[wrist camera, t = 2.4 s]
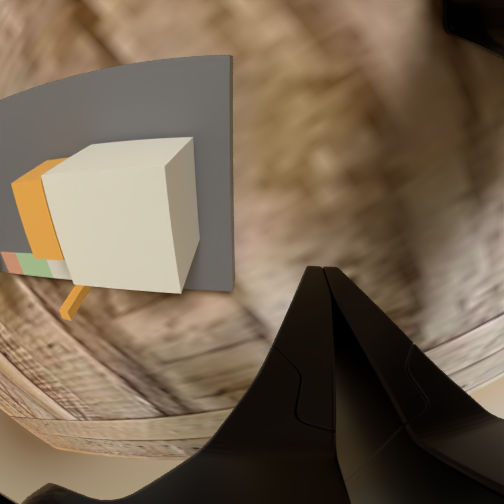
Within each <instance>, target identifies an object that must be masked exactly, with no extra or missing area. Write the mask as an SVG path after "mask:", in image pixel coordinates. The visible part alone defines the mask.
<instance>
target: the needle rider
mask: <svg viewBox="0 0 504 504" xmlns="http://www.w3.org/2000/svg"><path fill="white" fill-rule="evenodd" d="M68 158H69V157H67V158H60V159H53V160H47V161H45V162H43V163H42V164H40V165H39V166H37V167H35V168H34V169H32V170H31V171H29V172H27V173H26V174H24V175H23V176H21V177H20V178H18V179H17V180H15V181H14V182H12V183H11V185H12V189H13V193H14V197H15V200H16V204H17V207H18V211H19V214H20V217H21V221H22V224H23V227H24V230H25V233H26V236H27V239H28V241H29V244H30V247H31V250H32V253H33V255H34V258H35V259H48V260H62V261H64V260H65V258H64V255H63V253H62V250H61V247H60V243H59V240H58V237H57V234H56V231H55V227H54V224H53V220H52V217H51V213H50V210H49V206H48V202H47V198H46V194H45V190H44V186H43V182H42V177H41V175H43V174H44V173H46V172H47V171H49V170H50V169H52V168H53V167H55V166H57V165H58V164H60V163H61V162H63V161H64V160H66V159H68ZM91 287H92V286H84V285H75V287H74V288H73V290H72V291H71V293H70V294H69V296H68V297H67V299H66V300H65V302H64V304H63V305H62V307H61V308H60V310H59V312H60V314H61V316H62V318H63V319H67V320H72V318H73V317H74V315H75V313H76V312H77V310H78V308H79V307H80V305H81V303H82V302H83V300H84V298H85V297H86V295H87V294H88V292H89V290H90V289H91Z"/></svg>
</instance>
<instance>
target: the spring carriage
mask: <svg viewBox="0 0 504 504" xmlns="http://www.w3.org/2000/svg"><path fill="white" fill-rule="evenodd" d="M41 177H42V182H43V186H44V190H45V194H46V198H47V202H48V206H49V210H50V213H51V217H52V220H53V224H54V227H55V231H56V234H57V237H58V240H59V243H60V247H61V250H62V253H63V255H64V258H65V261H66V264H67V267H68V270H69V272H70V275H71V278H72V280H73V283H74V284H75V285H84V286H94V287H105V288H115V289H127V290H139V291H152V292H165V293H180V294H181V293H182V290H183V287H184V284H185V281H186V278H187V275H188V272H189V269H190V266H191V263H192V260H193V257H194V255H195V252H196V249H197V246H198V243H199V240H200V234H199V222H198V208H197V194H196V179H195V162H194V142H193V137H179V138H159V139H144V140H131V141H120V142H109V143H100V144H92V145H90V146H88V147H86V148H84V149H83V150H81V151H79V152H78V153H76V154H74V155H73V156H71V157H69V158H68V159H66V160H64V161H63V162H61V163H60V164H58V165H57V166H55V167H53V168H52V169H50V170H49V171H47V172H46V173H44V174H43V175H41Z"/></svg>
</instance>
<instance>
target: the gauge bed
mask: <svg viewBox="0 0 504 504" xmlns="http://www.w3.org/2000/svg"><path fill="white" fill-rule="evenodd" d="M179 137H193V142H194V162H195V179H196V194H197V208H198V222H199V234H200V240H199V243H198V246H197V249H196V252H195V255H194V257H193V260H192V263H191V266H190V269H189V272H188V275H187V278H186V281H185V284H184V287H183V289H192V290H209V291H229V292H233V288H234V281H235V262H234V210H233V56H231V55H210V56H193V57H181V58H171V59H162V60H154V61H146V62H140V63H133V64H127V65H121V66H116V67H111V68H106V69H101V70H96V71H92V72H88V73H83V74H79V75H75V76H71V77H68V78H64V79H60V80H57V81H53V82H50V83H47V84H44V85H40V86H37V87H34V88H31V89H28V90H25V91H23V92H20V93H17V94H14V95H12V96H9V97H6V98H4V99H1V100H0V272H6V273H14V274H22V275H30V276H39V277H48V278H57V279H67V280H72V278H71V275H70V272H69V270H68V267H67V264H66V261H65V260H64V261H62V260H48V259H35V258H34V255H33V253H32V250H31V247H30V244H29V241H28V239H27V236H26V233H25V230H24V227H23V224H22V221H21V217H20V214H19V211H18V207H17V204H16V200H15V197H14V193H13V189H12V185H11V183H12V182H14V181H15V180H17V179H18V178H20V177H21V176H23V175H24V174H26V173H27V172H29V171H31V170H32V169H34V168H35V167H37V166H39V165H40V164H42V163H43V162H45V161H47V160H53V159H60V158H67V157H71V156H73V155H74V154H76V153H78V152H79V151H81V150H83V149H84V148H86V147H88V146H90V145H92V144H100V143H109V142H120V141H131V140H144V139H159V138H179Z"/></svg>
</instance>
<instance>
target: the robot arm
mask: <svg viewBox="0 0 504 504" xmlns="http://www.w3.org/2000/svg"><path fill="white" fill-rule="evenodd" d="M451 23H453V24H454V25H455V30H453V29H452V27H451ZM443 27H444V29H445V31H446V32H447V33H448V34H449V35H451V36H454V37H456V38H459V39H461V40H464V41H466V42H469V43H471V44H473V45H476V46H478V47H480V48H482V49H485V50H487V51H489V52H491V53H493V54H495V55H497V56H499V57H501V58H503V59H504V0H443ZM0 504H18V503H17V502H15V501H13V500H12V499H10V498H9V497H7V496H5V495H4V494H2V493H1V492H0ZM21 504H504V419H502V418H498V417H496V416H494V415H493V414H491V413H489V412H488V411H487V410H485V409H484V408H483V407H482V406H481V405H480V404H478V403H477V402H476V401H475V400H474V399H473V398H472V397H471V396H469V395H468V394H467V393H466V392H465V391H464V390H463V389H462V388H460V387H459V386H458V385H457V384H456V383H455V382H454V381H453V380H451V379H450V378H449V377H448V376H447V375H446V374H445V373H444V372H443V371H442V370H441V369H439V368H438V367H437V366H436V365H435V364H434V363H433V362H432V361H431V360H430V359H429V358H428V357H427V356H426V355H425V354H424V353H423V352H422V351H421V350H420V349H419V348H418V346H417V345H416V344H414V345H413V341H412V340H411V339H410V338H409V337H408V336H407V335H406V334H405V333H404V332H403V331H402V330H401V329H400V328H399V327H398V326H397V325H396V324H395V323H394V322H393V321H392V320H391V319H390V318H389V317H388V316H387V315H386V314H385V313H384V312H383V311H382V310H381V309H380V308H379V307H378V306H377V305H376V304H375V303H374V302H373V301H372V300H371V299H370V298H369V297H368V296H367V295H366V294H365V293H364V292H363V291H362V290H361V289H360V288H359V287H358V286H357V285H355V284H354V283H353V282H352V281H351V280H350V279H349V278H348V277H347V276H346V275H345V274H344V273H343V272H342V271H341V270H340V269H339V268H337V267H323V268H322V267H320V266H307V267H306V269H305V271H304V274H303V276H302V279H301V281H300V283H299V286H298V288H297V290H296V293H295V295H294V297H293V300H292V302H291V304H290V307H289V309H288V311H287V313H286V316H285V318H284V320H283V322H282V325H281V327H280V329H279V331H278V334H277V336H276V338H275V340H274V342H273V345H272V347H271V348H270V351H269V353H268V355H267V357H266V359H265V361H264V363H263V365H262V367H261V369H260V370H259V372H258V374H257V376H256V377H255V379H254V381H253V382H252V384H251V385H250V387H249V388H248V390H247V391H246V393H245V394H244V396H243V397H242V398H241V400H240V401H239V402H238V404H237V405H236V406H235V408H234V409H233V411H232V412H231V413H230V415H229V416H228V417H227V419H226V420H225V421H224V423H223V424H222V425H221V427H220V428H219V429H218V430H217V432H216V433H215V434H214V435H213V437H212V438H211V439H210V440H209V441H208V442H207V443H206V444H205V445H204V446H203V447H202V448H201V449H200V450H199V451H198V452H197V453H196V454H194V455H193V456H191V457H190V458H188V459H187V460H186V461H184V462H183V463H181V464H180V465H178V466H177V467H175V468H174V469H172V470H171V471H169V472H167V473H166V474H164V475H163V476H161V477H160V478H158V479H156V480H155V481H153V482H152V483H150V484H148V485H147V486H145V487H143V488H142V489H140V490H138V491H137V492H135V493H133V494H131V495H129V496H126V497H124V498H120V499H115V500H99V499H94V498H90V497H87V496H85V495H82V494H79V493H77V492H74V491H72V490H69V489H67V488H64V487H62V486H59V485H56V484H53V483H48V484H46V485H44V486H43V487H41V488H40V489H38V490H37V491H35V492H34V493H33V494H31V495H30V496H28V497H27V498H26V499H25V500H24V501H23V502H22V503H21Z"/></svg>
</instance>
